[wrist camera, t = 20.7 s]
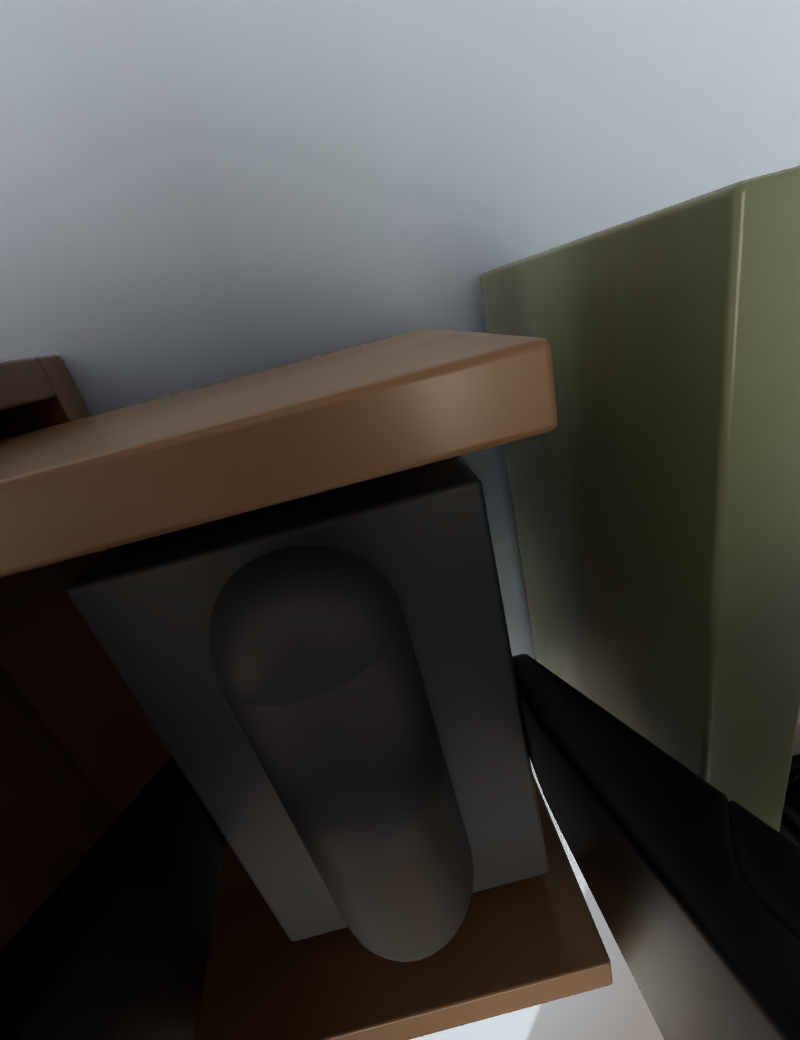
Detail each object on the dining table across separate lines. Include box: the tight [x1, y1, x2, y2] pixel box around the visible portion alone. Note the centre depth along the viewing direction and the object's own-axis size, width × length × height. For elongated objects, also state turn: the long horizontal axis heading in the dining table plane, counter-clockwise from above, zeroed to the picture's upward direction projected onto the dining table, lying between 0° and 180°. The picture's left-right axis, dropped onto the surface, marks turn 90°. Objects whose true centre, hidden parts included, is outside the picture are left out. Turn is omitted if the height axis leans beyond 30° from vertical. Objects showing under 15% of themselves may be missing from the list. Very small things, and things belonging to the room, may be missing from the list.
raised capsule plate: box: [67, 456, 549, 962], centre depth 7 cm, size 8×5×3 cm, turn 13°
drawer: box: [0, 166, 800, 1040], centre depth 9 cm, size 19×12×7 cm, turn 103°
